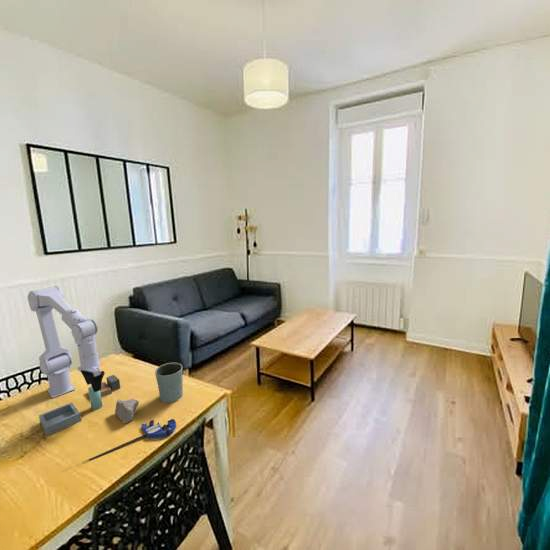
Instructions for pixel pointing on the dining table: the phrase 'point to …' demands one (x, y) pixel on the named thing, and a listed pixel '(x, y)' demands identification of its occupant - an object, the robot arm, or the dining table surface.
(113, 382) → the dark grey block
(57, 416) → the tray
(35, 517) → the dining table surface
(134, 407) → the stone
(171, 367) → the grey green cup
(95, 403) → the dowel
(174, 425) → the bar clamp
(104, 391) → the tan cardboard box
